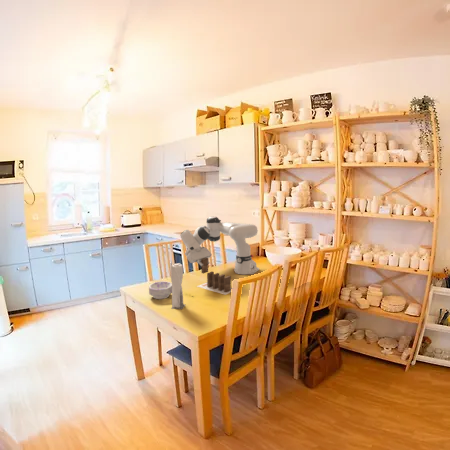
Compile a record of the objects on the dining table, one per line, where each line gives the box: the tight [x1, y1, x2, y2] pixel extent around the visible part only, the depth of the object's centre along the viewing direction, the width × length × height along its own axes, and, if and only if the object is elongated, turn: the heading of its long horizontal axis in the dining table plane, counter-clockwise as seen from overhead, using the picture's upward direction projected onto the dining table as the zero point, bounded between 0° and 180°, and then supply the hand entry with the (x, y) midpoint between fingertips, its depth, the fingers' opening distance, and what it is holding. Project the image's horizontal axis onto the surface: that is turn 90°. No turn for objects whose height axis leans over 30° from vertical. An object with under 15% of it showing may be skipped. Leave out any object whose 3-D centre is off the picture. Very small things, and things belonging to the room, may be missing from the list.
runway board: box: [196, 282, 233, 296], centre depth 218 cm, size 12×26×1 cm, turn 51°
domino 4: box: [218, 274, 226, 291], centre depth 215 cm, size 2×5×10 cm, turn 141°
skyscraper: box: [169, 261, 187, 310], centre depth 189 cm, size 8×8×28 cm
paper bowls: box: [148, 280, 172, 300], centre depth 206 cm, size 15×15×8 cm
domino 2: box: [206, 271, 215, 288], centre depth 221 cm, size 2×5×10 cm, turn 141°
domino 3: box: [213, 272, 220, 289], centre depth 218 cm, size 2×5×10 cm, turn 141°
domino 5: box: [224, 275, 232, 292], centre depth 211 cm, size 2×5×10 cm, turn 141°
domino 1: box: [200, 258, 209, 275], centre depth 222 cm, size 2×5×10 cm, turn 141°
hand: (205, 264), depth 222 cm, fingers closed on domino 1, 5 cm apart
